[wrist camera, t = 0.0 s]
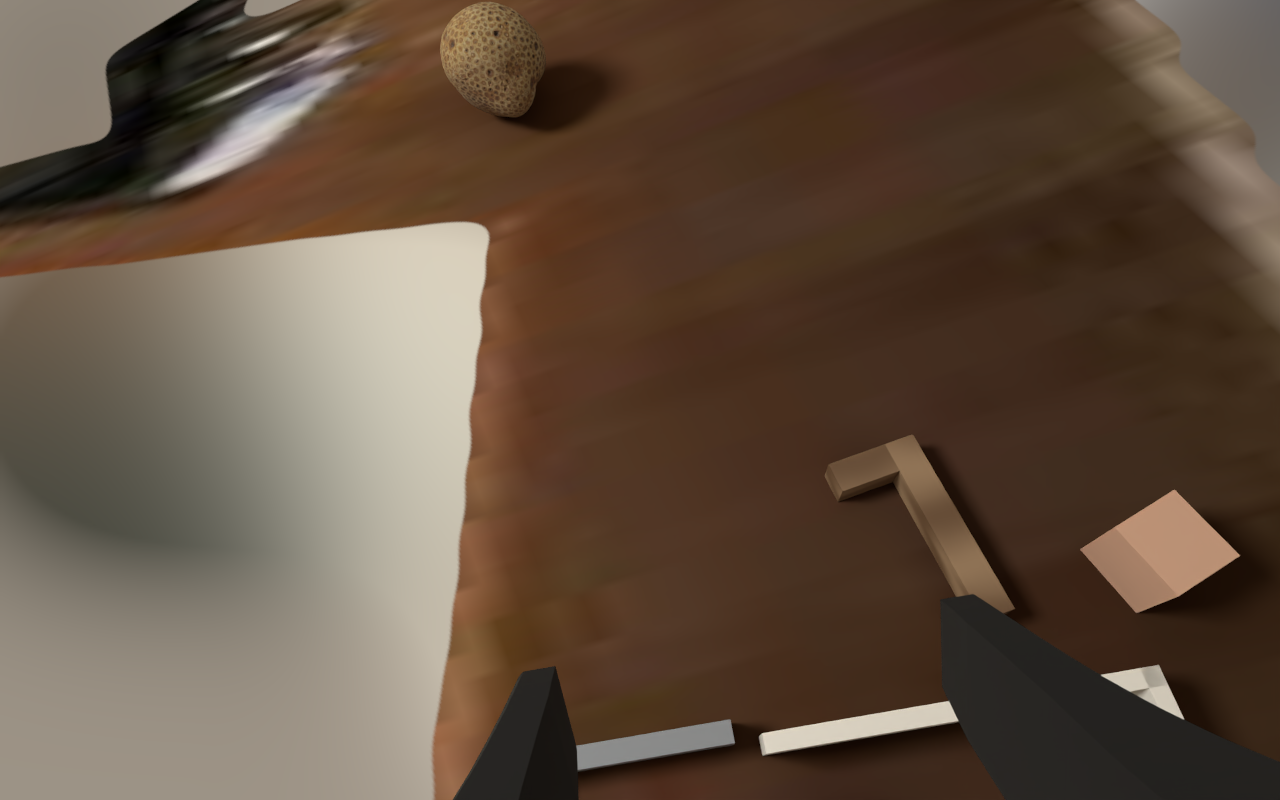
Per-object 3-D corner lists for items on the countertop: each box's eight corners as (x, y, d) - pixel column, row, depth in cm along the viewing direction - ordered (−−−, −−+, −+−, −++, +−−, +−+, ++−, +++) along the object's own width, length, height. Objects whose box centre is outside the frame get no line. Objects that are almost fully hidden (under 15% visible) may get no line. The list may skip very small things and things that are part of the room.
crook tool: (1002, 615, 44) (1015, 608, 42) (912, 650, 43) (920, 644, 42) (905, 446, 49) (912, 434, 48) (824, 475, 49) (828, 464, 47)
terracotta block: (1192, 576, 44) (1240, 555, 40) (1135, 613, 43) (1178, 596, 39) (1134, 514, 46) (1174, 489, 42) (1079, 549, 45) (1114, 527, 41)
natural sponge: (499, 65, 72) (469, -35, 63) (573, 89, 69) (553, -11, 61) (445, 124, 69) (405, 27, 60) (521, 152, 66) (491, 55, 57)
